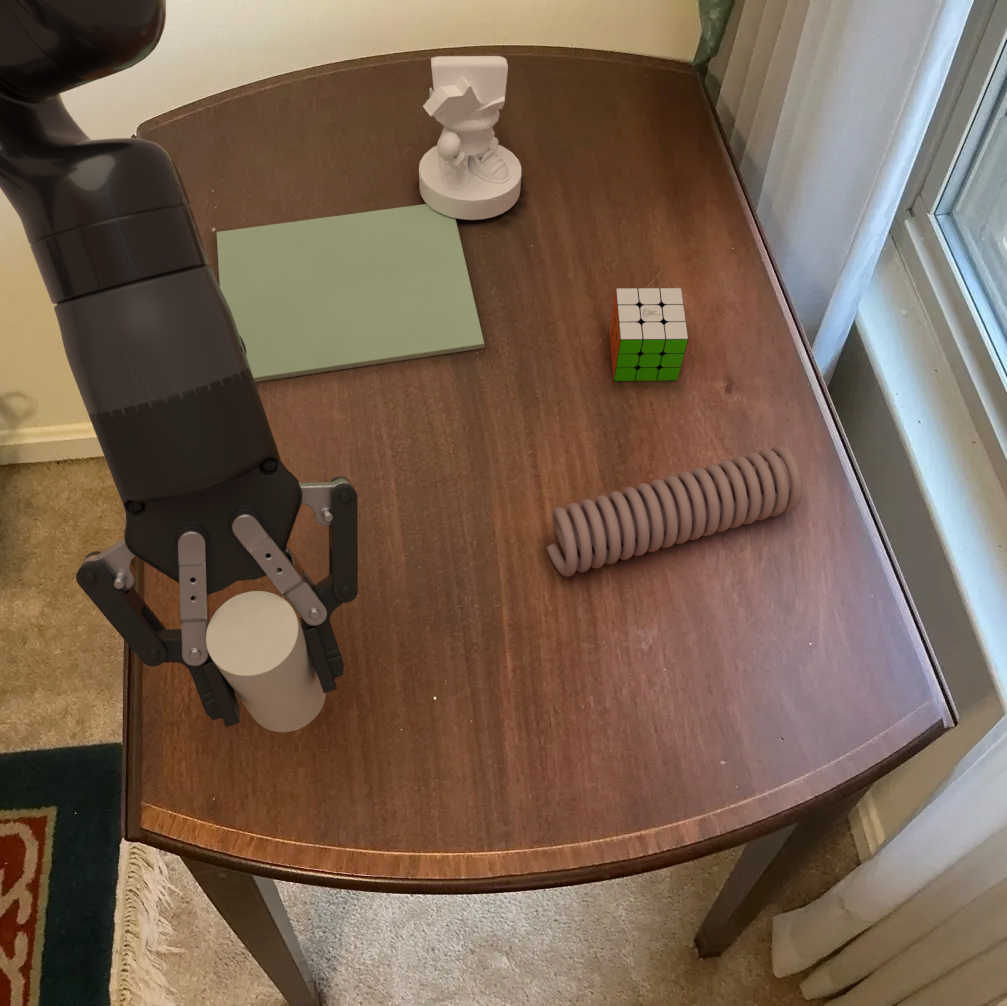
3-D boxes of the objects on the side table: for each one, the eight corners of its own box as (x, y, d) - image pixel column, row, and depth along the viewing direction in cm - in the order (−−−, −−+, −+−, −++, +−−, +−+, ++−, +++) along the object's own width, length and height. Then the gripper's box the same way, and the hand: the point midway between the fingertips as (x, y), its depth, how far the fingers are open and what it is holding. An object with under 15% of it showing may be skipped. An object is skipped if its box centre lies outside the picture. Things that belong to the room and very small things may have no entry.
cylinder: (249, 739, 53) (207, 683, 45) (245, 664, 55) (203, 598, 47) (330, 724, 53) (302, 666, 45) (322, 650, 55) (294, 583, 47)
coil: (786, 428, 66) (539, 497, 64) (820, 480, 64) (563, 554, 61) (773, 470, 70) (539, 537, 67) (804, 520, 67) (562, 591, 65)
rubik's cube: (677, 381, 74) (688, 339, 70) (612, 381, 74) (619, 339, 70) (672, 330, 76) (682, 287, 72) (609, 330, 76) (615, 287, 72)
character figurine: (421, 221, 81) (418, 89, 71) (416, 151, 86) (412, 20, 76) (525, 218, 82) (536, 88, 72) (513, 149, 87) (522, 19, 77)
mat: (226, 386, 74) (224, 382, 73) (218, 236, 81) (216, 231, 81) (484, 348, 75) (484, 343, 75) (451, 205, 83) (451, 200, 83)
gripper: (-11, 439, 40) (135, 788, 45) (323, 345, 42) (427, 683, 47) (26, 415, 47) (149, 719, 52) (311, 335, 50) (403, 631, 54)
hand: (282, 700), depth 49 cm, fingers closed on cylinder, 4 cm apart
